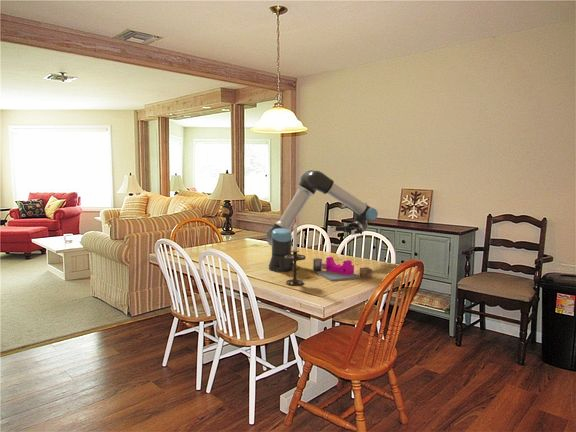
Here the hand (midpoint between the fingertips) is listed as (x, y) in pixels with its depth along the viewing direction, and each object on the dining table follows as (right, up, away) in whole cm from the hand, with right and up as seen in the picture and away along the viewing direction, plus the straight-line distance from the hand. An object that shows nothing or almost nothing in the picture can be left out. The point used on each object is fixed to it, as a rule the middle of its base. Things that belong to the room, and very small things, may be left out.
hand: (341, 231), depth 246 cm
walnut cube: (+12, -25, -15) cm, 31 cm away
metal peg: (-14, -23, -1) cm, 27 cm away
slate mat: (-3, -24, -12) cm, 27 cm away
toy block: (-2, -23, -7) cm, 24 cm away
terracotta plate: (-7, -22, +8) cm, 25 cm away
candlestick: (-28, -26, -28) cm, 48 cm away
